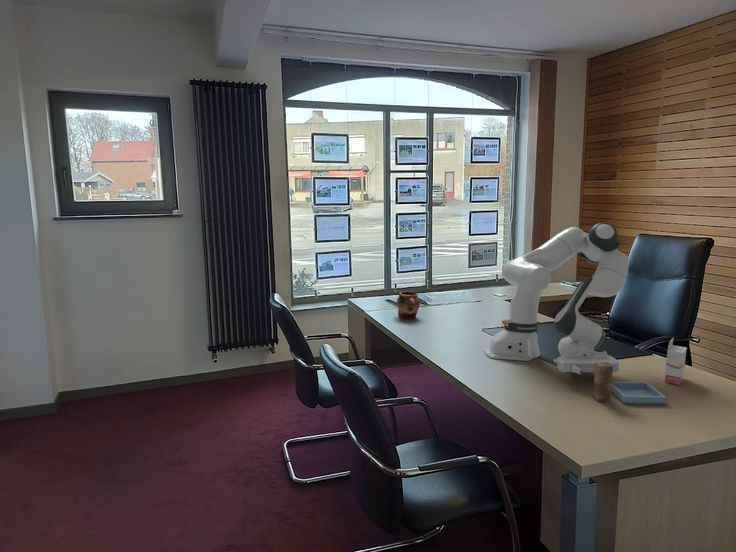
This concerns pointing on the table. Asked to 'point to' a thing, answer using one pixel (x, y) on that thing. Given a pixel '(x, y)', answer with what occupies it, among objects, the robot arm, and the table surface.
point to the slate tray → (637, 393)
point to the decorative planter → (408, 305)
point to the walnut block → (602, 381)
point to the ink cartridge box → (675, 364)
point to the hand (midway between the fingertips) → (595, 372)
